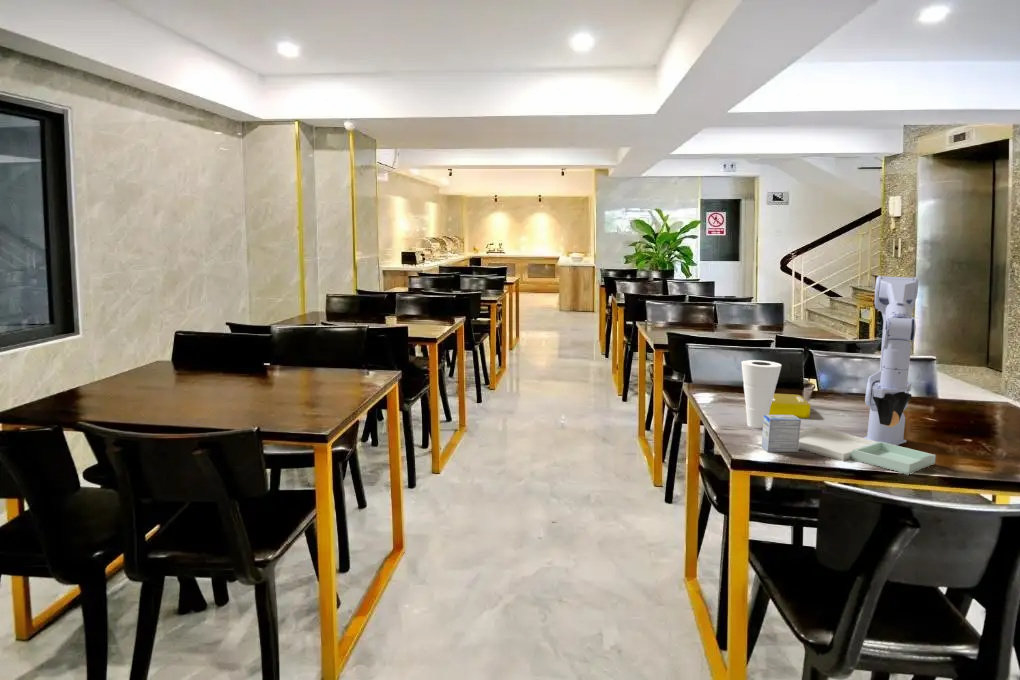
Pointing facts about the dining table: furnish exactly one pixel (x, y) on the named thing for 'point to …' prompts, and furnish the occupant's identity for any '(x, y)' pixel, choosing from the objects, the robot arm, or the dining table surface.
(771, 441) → the medicine box
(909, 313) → the robot arm
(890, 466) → the dish
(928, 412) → the dining table surface
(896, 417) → the ball
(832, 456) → the tray
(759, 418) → the white paper towel roll
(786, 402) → the element tile
